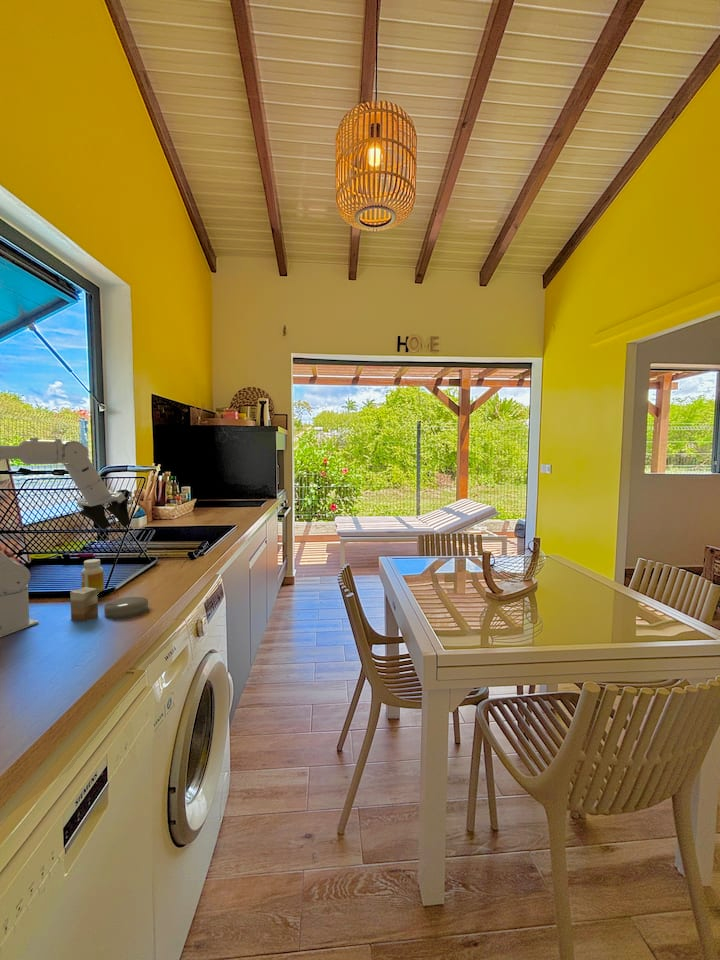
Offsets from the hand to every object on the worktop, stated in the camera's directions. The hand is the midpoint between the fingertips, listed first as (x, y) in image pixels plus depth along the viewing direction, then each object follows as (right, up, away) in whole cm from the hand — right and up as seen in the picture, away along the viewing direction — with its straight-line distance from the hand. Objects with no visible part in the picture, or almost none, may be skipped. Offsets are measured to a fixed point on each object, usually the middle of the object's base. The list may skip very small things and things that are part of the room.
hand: (116, 526), depth 121 cm
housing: (-2, -22, -11) cm, 24 cm away
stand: (+6, -21, -6) cm, 23 cm away
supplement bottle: (-10, -20, +6) cm, 23 cm away
